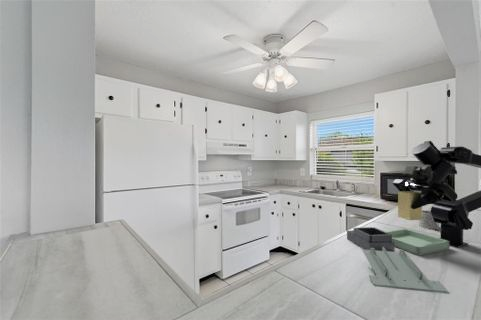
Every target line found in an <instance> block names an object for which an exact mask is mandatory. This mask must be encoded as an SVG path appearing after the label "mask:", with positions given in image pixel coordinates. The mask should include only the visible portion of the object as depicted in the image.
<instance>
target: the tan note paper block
mask: <svg viewBox="0 0 481 320" xmlns="http://www.w3.org/2000/svg"><path fill="white" fill-rule="evenodd" d="M420 194H421V192H418V191H414V192H412V191H399V190H398V192H397V197H398V198H397V211H398V212H397V216H398V218H401V219H404V220H408V221H419V220H422V210H423V206H422V207H420V208H417V209H413V208H412V205H413V203H414V202H415V201H416V200H417V198H418V197H419V196H420Z"/></svg>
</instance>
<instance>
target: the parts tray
mask: <svg viewBox="0 0 481 320" xmlns="http://www.w3.org/2000/svg"><path fill="white" fill-rule="evenodd" d="M384 232H387V233H389V234H391V235H392V241H393V242H394V248H397V249H399V250H404V251H406V252H408V253H410V254H413V255H416V256H420V257H421V256H424V255H427V254H428V255H429V254H433V253H437V252H441V251H446V250H449V249H450V246H451V245H450V241H447V240H443V239H440V237H437V236H436V237H435V236H432V235H429V234H427V233H426V234H425V233H421V232H419V231H415V230H412V229H408V228H399V229H394V230H386V231H384Z"/></svg>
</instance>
